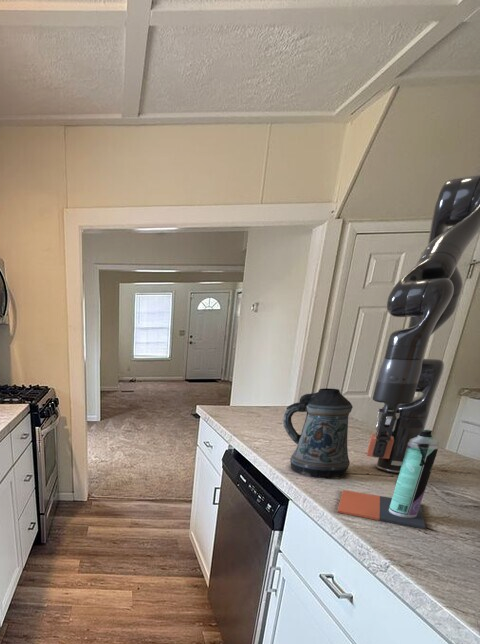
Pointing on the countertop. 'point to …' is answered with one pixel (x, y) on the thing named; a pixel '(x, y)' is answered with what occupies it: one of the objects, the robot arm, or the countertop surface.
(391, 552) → the countertop surface
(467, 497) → the countertop surface
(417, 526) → the sorting mat
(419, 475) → the spray can
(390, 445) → the terracotta block
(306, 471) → the beer stein
